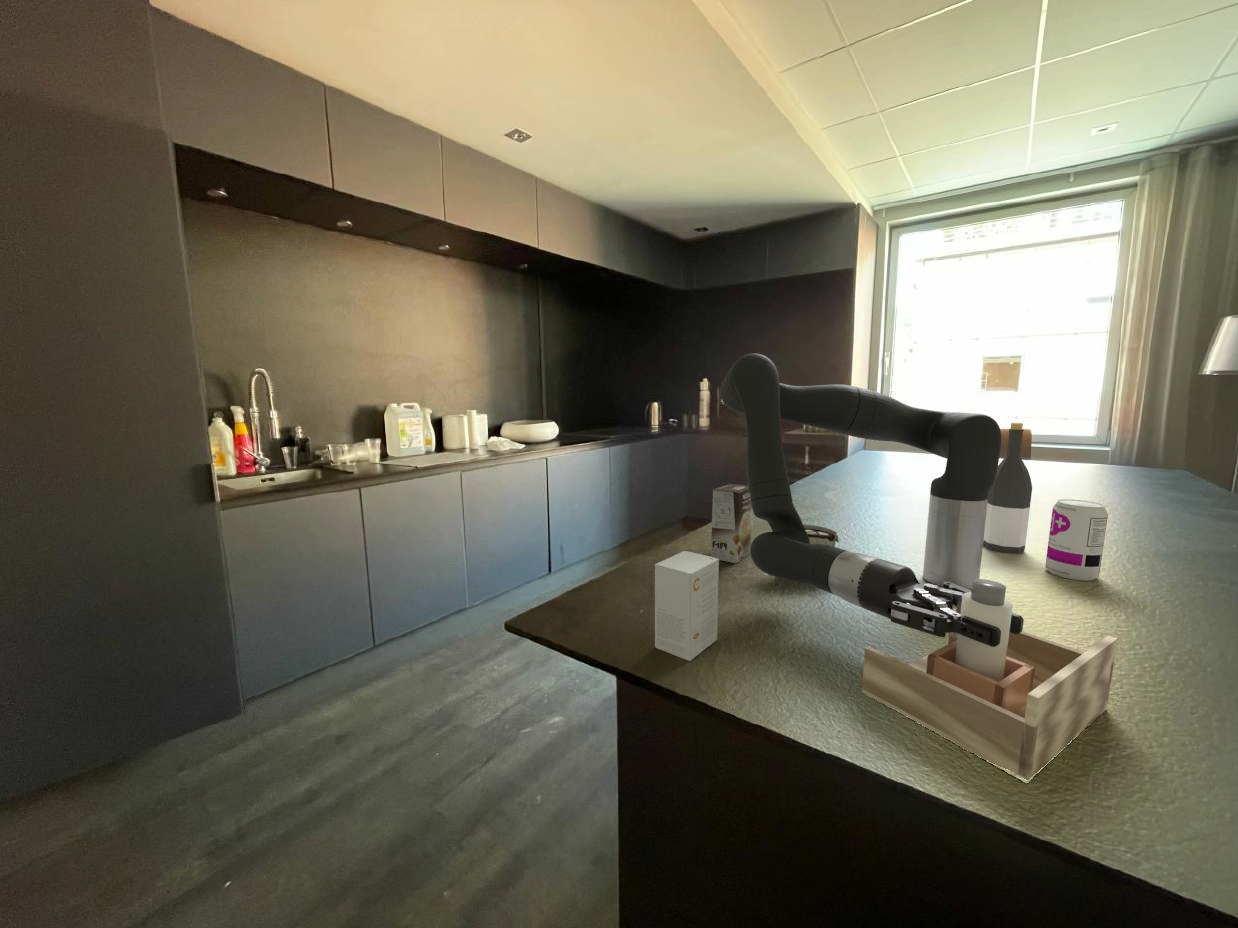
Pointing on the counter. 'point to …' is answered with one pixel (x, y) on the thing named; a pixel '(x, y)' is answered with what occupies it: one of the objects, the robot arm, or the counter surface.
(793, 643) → the counter surface
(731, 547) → the coffee box
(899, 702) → the wooden tray
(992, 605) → the white plastic bottle
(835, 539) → the food container
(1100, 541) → the supplement can
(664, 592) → the small box
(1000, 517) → the wine bottle
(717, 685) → the counter surface
